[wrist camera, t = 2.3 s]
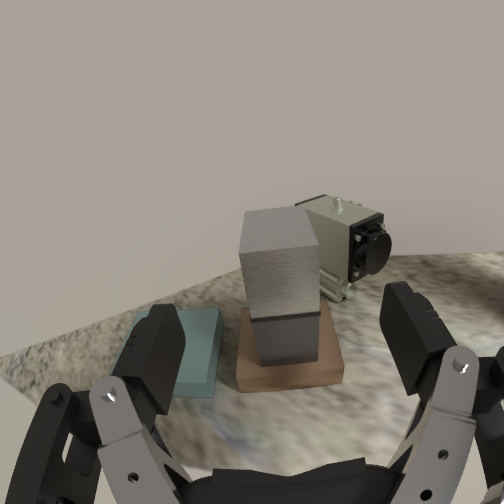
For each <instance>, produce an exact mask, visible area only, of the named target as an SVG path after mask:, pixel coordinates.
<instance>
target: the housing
mask: <svg viewBox="0 0 504 504" xmlns="http://www.w3.org/2000/svg"><path fill="white" fill-rule="evenodd" d="M239 257H240V263H241V268H242V274H243V279H244V284H245V289H246V294H247V299H248V305H249V310H250V323H252V325H253V330H254V335H255V340H256V345H257V350H258V355H259V360H260V365H261V367H269V366H281V365H291V364H301V363H309V362H317V361H318V350H319V316H321V310H320V280H319V244H318V241H317V239H316V236H315V234H314V231H313V229H312V226H311V224H310V221H309V219H308V216H307V214H306V211H305V209H304V206H303V205H300V206H291V207H281V208H272V209H263V210H255V211H247V212H245V215H244V221H243V228H242V235H241V241H240V248H239Z"/></svg>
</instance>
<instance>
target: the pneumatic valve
mask: <svg viewBox="0 0 504 504" xmlns="http://www.w3.org/2000/svg"><path fill="white" fill-rule="evenodd" d="M300 205H303V206H304V209H305V211H306V214H307V216H308V219H309V221H310V224H311V226H312V229H313V231H314V234H315V236H316V239H317V241H318V244H319V264H320V265H321V266H320V267H319V280H320V291H321V292H322V293H323V294H325V295H326V296H328V297H329V298H331V299H332V300H333V301H335V302H341V300H342V298H344V297H345V298H347V299H349V298H351V297H353V296H354V295H355V294H356V292H357V290H358V287H359V284H358V282H357V280H359V279H361V278H362V277H364V276H365V275H367V274H370V275H374V274H376V273H378V272H379V271H380V270H381V269H382V268H383V267H384V265H385V264H386V262H387V260H388V258H389V255H390V252H391V246H392V242H391V237H390V235H389V234H388V233H386V230H384V227H385V225H384V224H383V220H384V214H382V213H379V212H376V211H373V210H371V209H368V208H365V207H364V206H363V205H362V204H358V205H356V204H355V203H354V202H353V201H349V202H347V201H344V200H342V198H339V197H331V196H328V195H321V196H317V197H314V198H311V199H309V200H305V201H302V202H300V203H296V204H295V206H300Z"/></svg>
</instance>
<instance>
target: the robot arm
mask: <svg viewBox="0 0 504 504" xmlns="http://www.w3.org/2000/svg"><path fill="white" fill-rule="evenodd" d="M380 327H381V330H382V333H383V335H384V337H385V340H386V342H387V344H388V347H389V349H390V351H391V354H392V356H393V359H394V361H395V364H396V366H397V369H398V371H399V374H400V376H401V379H402V382H403V384H404V387H405V390H406V392H407V395H408V396H409V395H413V394H416V393H418V394H419V397H420V399H419V401H418V403H417V406H416V409H415V411H414V414H413V416H412V419H411V421H410V424H409V426H408V429H407V431H406V433H405V435H404V438H403V440H402V442H401V444H400V446H399V448H398V449H397V451H396V452H395V454H394V455H393V457H392V459H391V460H390V462H389V464H388V466H387V467H384V466H379V465H372V464H366V462H365V457H363V458H358V459H353V460H348V461H343V462H337V463H331V464H327V465H324V466H321V467H319V468H316V469H313V470H310V471H307V472H304V473H301V474H298V475H294V476H289V477H287V476H280V475H274V474H268V473H263V472H258V471H253V470H234V469H213V474H212V476H208V477H204V478H200V479H197V480H195V481H192V479H191V478H190V476H189V475H188V474H187V472H186V471H185V470H184V469H183V468H182V466H181V465H180V464H179V463H178V461H177V460H176V458H175V456H174V455H173V453H172V451H171V450H170V448H169V446H168V444H167V443H166V441H165V439H164V437H163V435H162V434H161V432H160V430H159V428H158V426H157V424H156V423H155V418H156V415H157V414H160V415H168V411H169V407H170V403H171V399H172V395H173V391H174V387H175V383H176V380H177V376H178V372H179V368H180V365H181V361H182V357H183V354H184V350H185V346H186V337H185V332H184V330H183V327H182V324H181V322H180V319H179V316H178V314H177V311H176V308H175V306H174V305H173V304H172V303H170V304H154V305H153V306H152V307H151V309H150V311H149V313H148V316H147V317H143V318H142V319H141V320H140V321H138V322H137V323H136V324H135V325H134V327H133V329H132V331H131V333H130V335H129V338H128V339H127V341H126V343H125V346H124V347H123V350H122V352H121V354H120V356H119V358H118V360H117V362H116V365H115V367H114V369H113V371H112V373H111V375H110V376H107V377H104V378H101V379H99V380H98V381H97V382H96V383H95V384H94V385H93V386H92V388H91V390H87V391H80V392H72V390H71V389H70V388H69V387H68V386H67V385H66V384H63V383H57V384H54V385H52V386H51V387H49V388H48V389H47V390H46V392H45V393H44V395H43V397H42V399H41V401H40V404H39V406H38V408H37V410H36V413H35V415H34V418H33V420H32V422H31V425H30V427H29V429H28V432H27V435H26V437H25V440H24V443H23V445H22V448H21V451H20V453H19V456H18V459H17V462H16V465H15V469H14V472H13V475H12V478H11V482H10V486H9V489H8V493H7V497H6V502H5V504H94V499H95V494H96V490H97V485H98V480H99V476H100V471H101V467H102V468H103V470H104V473H105V476H106V478H107V481H108V483H109V486H110V488H111V491H112V493H113V495H114V498H115V500H116V502H117V504H450V503H451V501H452V499H453V497H454V494H455V492H456V489H457V487H458V484H459V482H460V479H461V476H462V473H463V470H464V468H465V464H466V461H467V458H468V455H469V452H470V448H471V444H472V441H473V437H474V436H475V440H476V443H477V446H478V450H479V454H480V458H481V461H482V465H483V469H484V474H485V479H486V484H487V488H488V491H487V493H486V494H485V497H484V500H483V501H482V502H481V503H480V504H504V410H503V408H502V406H501V403H500V402H501V401H502V400H503V399H504V346H503V347H501V348H500V349H499V351H498V353H497V354H496V356H495V357H477V356H476V354H475V353H474V352H473V351H472V350H471V349H469V348H467V347H464V346H458V345H457V344H456V342H455V340H454V339H453V337H452V336H451V334H450V332H449V331H448V329H447V328H446V326H445V324H444V323H443V321H442V320H441V318H439V315H438V314H437V312H436V311H434V308H433V306H432V305H431V303H430V302H429V300H428V299H427V298H425V297H424V296H423V295H421V294H420V293H418V292H416V293H414V292H413V291H412V289H411V288H410V286H409V285H408V283H407V282H406V281H401V282H395V283H388V284H386V286H385V289H384V295H383V301H382V306H381V311H380ZM69 433H71V434H72V435H73V438H72V441H71V444H70V447H69V450H68V454H67V457H66V461H65V463H64V462H63V459H62V452H63V449H64V446H65V443H66V440H67V437H68V434H69Z"/></svg>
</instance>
